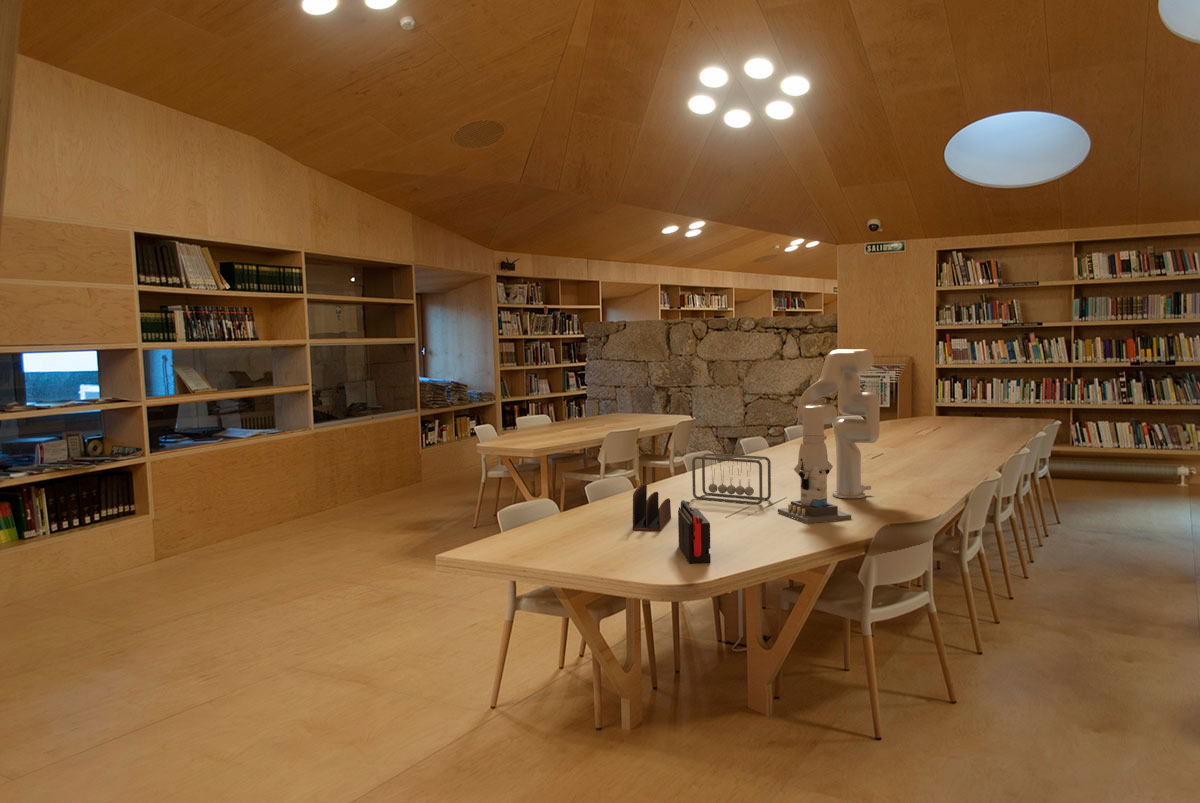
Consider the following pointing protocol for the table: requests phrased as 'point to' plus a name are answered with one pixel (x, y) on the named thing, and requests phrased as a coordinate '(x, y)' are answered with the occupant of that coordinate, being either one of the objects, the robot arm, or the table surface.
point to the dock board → (813, 512)
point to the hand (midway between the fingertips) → (813, 488)
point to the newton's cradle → (730, 488)
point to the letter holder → (649, 511)
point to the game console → (693, 534)
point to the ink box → (815, 489)
